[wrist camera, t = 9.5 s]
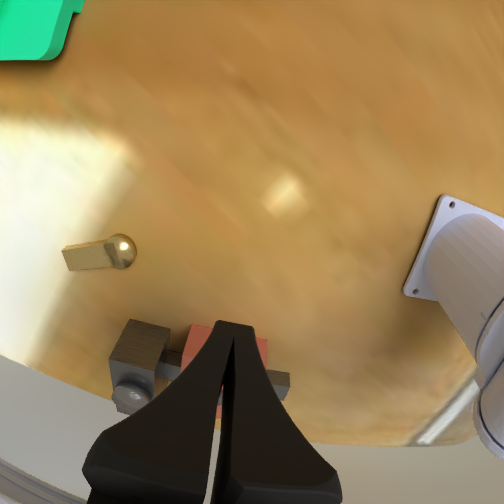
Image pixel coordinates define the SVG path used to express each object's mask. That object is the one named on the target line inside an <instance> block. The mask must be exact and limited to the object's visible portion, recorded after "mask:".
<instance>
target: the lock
mask: <svg viewBox="0 0 504 504" xmlns="http://www.w3.org/2000/svg"><path fill="white" fill-rule="evenodd" d="M212 330H213V329H212V328H207V327H203V326H198V325H194V324H192V326H191V329H190V332H189V335H188V338H187V342H186V345H185V348H184V351H183V355H182V363H181V372H180V374H181V373H182V372H183V370H184V369H185V368H186V367H187V366H188V364H189V363H190V362H191V361H192V360H193V359H194V357H195V356H196V355H197V353H198V352H199V350H200V349H201V348H202V346H203V345H204V343H205V342H206V340H207V339H208V337H209V335H210V334H211V332H212ZM256 342H257V346H258V349H259V352H260V356H261V359H262V361H263V364H264V367H265V369H266V353H267V340H266V339H260V338H256ZM222 394H223V386H222V390H221V394H220V397H219V401H218V405H217V412H216V418H221V414H222Z"/></svg>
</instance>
